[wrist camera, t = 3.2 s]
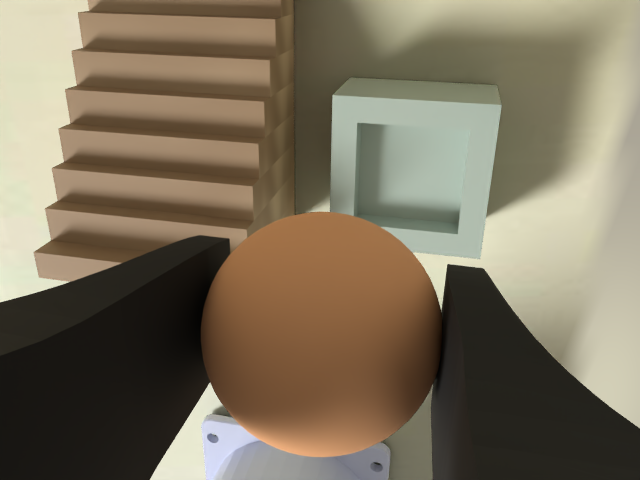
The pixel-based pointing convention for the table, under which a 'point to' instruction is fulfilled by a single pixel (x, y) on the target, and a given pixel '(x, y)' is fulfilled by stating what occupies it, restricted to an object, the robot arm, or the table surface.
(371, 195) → the hollow square container
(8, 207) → the table surface
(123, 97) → the staircase
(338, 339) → the ball
